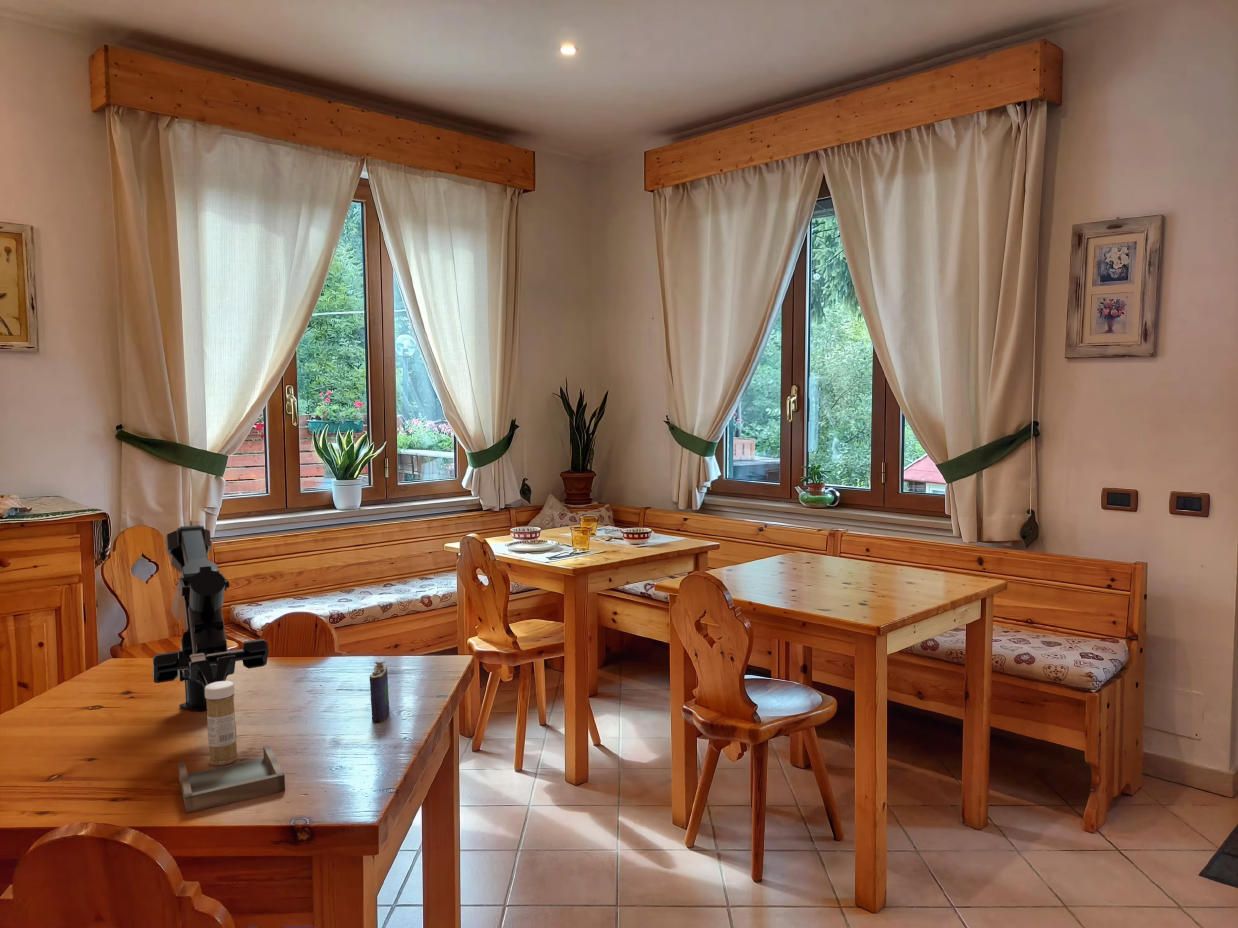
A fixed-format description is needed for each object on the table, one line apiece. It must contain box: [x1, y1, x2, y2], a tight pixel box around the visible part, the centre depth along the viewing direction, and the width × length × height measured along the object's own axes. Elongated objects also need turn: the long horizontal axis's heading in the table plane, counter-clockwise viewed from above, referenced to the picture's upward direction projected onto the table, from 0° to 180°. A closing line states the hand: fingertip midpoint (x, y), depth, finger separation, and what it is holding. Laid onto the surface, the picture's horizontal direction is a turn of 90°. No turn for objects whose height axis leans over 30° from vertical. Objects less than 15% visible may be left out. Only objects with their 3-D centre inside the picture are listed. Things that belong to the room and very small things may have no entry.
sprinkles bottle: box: [205, 680, 239, 766], centre depth 147 cm, size 5×5×13 cm
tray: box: [177, 744, 286, 814], centre depth 138 cm, size 14×14×2 cm
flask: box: [369, 661, 390, 725], centre depth 168 cm, size 9×3×11 cm, turn 8°
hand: (217, 701), depth 151 cm, fingers closed
